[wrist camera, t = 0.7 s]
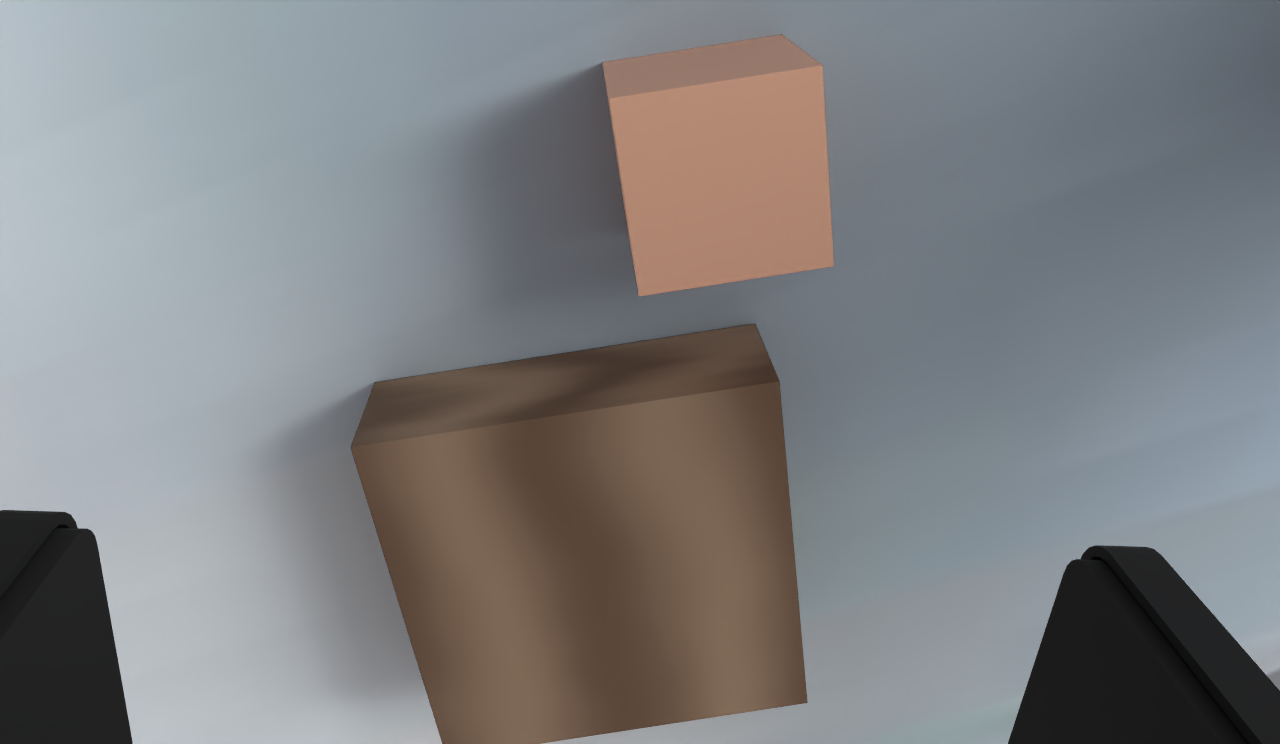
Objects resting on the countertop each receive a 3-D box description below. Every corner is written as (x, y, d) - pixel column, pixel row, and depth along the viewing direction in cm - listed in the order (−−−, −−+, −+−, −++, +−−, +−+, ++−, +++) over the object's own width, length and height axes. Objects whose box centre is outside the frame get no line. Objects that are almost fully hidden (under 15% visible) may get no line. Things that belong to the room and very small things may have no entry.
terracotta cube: (781, 33, 28) (822, 65, 24) (794, 207, 30) (833, 266, 26) (602, 61, 28) (608, 98, 24) (627, 233, 30) (638, 296, 26)
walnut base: (755, 323, 32) (779, 381, 28) (783, 622, 37) (807, 702, 33) (374, 382, 32) (350, 447, 28) (458, 672, 37) (446, 757, 34)
